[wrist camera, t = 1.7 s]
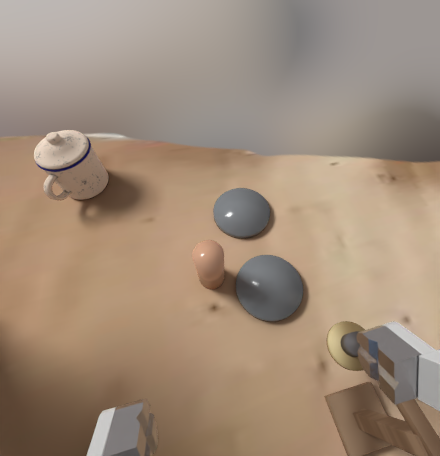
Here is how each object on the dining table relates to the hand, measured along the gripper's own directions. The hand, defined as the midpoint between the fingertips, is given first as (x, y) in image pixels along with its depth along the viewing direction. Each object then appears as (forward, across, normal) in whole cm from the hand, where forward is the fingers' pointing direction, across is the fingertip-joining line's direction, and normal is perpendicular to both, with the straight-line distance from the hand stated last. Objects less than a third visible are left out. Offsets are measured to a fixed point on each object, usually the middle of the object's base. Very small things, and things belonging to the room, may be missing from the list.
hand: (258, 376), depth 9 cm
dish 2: (+26, -8, +13) cm, 30 cm away
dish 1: (+36, -8, +3) cm, 37 cm away
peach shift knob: (+29, 0, +10) cm, 31 cm away
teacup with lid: (+46, +20, -7) cm, 51 cm away
